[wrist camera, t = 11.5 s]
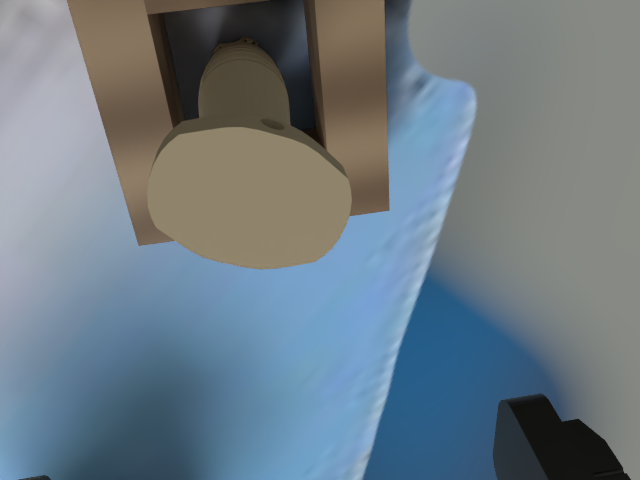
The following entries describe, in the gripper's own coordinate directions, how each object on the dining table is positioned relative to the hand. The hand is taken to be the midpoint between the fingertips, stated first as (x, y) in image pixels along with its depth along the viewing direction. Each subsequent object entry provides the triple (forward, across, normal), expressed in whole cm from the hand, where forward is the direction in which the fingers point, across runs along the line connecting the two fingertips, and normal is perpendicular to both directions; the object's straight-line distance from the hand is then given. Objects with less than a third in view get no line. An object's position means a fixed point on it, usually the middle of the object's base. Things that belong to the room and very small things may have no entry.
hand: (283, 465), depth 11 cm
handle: (+25, 0, 0) cm, 25 cm away
